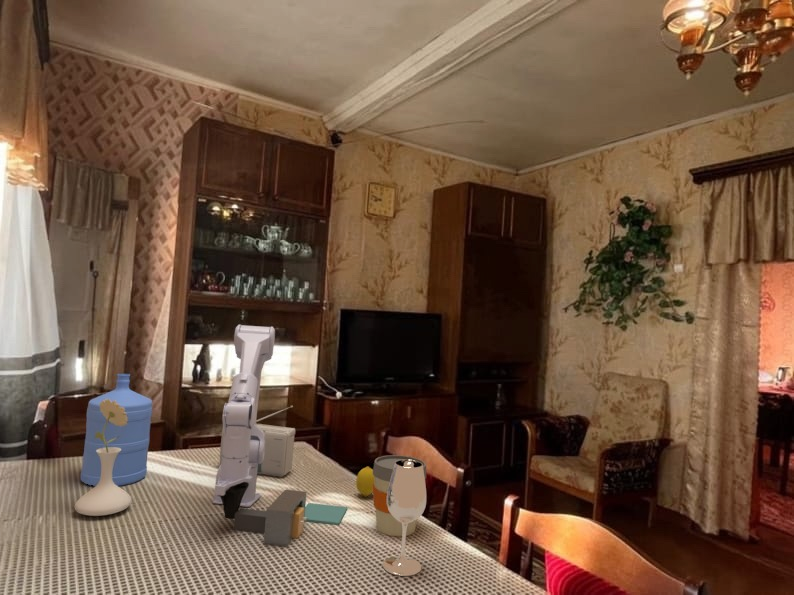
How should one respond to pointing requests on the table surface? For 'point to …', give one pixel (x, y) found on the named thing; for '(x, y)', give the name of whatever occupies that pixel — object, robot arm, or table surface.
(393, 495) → the wineglass
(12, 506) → the table surface
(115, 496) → the flower in vase
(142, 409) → the water jug
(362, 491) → the lemon
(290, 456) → the stereo radio cassette player
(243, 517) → the push rod
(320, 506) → the mat
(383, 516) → the reusable coffee cup
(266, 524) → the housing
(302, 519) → the plug
